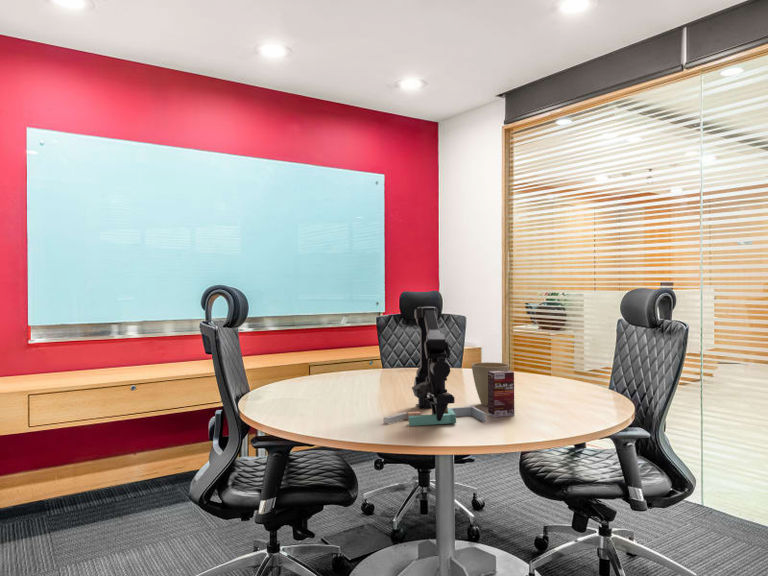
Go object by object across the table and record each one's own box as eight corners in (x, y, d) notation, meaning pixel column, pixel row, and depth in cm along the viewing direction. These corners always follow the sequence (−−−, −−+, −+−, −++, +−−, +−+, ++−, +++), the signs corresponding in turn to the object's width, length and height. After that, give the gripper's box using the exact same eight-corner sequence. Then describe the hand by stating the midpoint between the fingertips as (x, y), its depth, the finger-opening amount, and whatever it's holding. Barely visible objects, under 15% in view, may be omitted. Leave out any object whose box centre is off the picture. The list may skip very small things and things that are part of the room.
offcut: (407, 419, 194) (407, 412, 194) (419, 418, 195) (419, 411, 195) (408, 420, 192) (408, 413, 192) (420, 419, 193) (420, 412, 193)
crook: (407, 419, 193) (407, 411, 193) (452, 416, 193) (451, 408, 193) (409, 425, 184) (409, 417, 184) (456, 422, 184) (455, 414, 184)
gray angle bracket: (442, 416, 197) (442, 407, 197) (472, 413, 200) (471, 405, 200) (453, 423, 185) (453, 415, 185) (485, 421, 188) (485, 412, 188)
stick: (383, 424, 188) (383, 417, 188) (403, 418, 195) (402, 412, 195) (388, 425, 187) (388, 418, 187) (407, 419, 194) (407, 413, 194)
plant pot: (510, 409, 206) (509, 367, 206) (471, 408, 209) (470, 367, 209) (509, 401, 221) (508, 362, 221) (472, 400, 224) (472, 361, 224)
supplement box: (494, 417, 193) (493, 373, 193) (487, 414, 198) (486, 371, 198) (515, 415, 196) (514, 371, 196) (508, 412, 200) (508, 370, 200)
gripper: (406, 371, 192) (407, 415, 192) (422, 379, 174) (423, 428, 174) (436, 369, 195) (437, 413, 195) (454, 377, 177) (455, 425, 177)
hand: (437, 419), depth 185 cm, fingers closed on crook, 3 cm apart
